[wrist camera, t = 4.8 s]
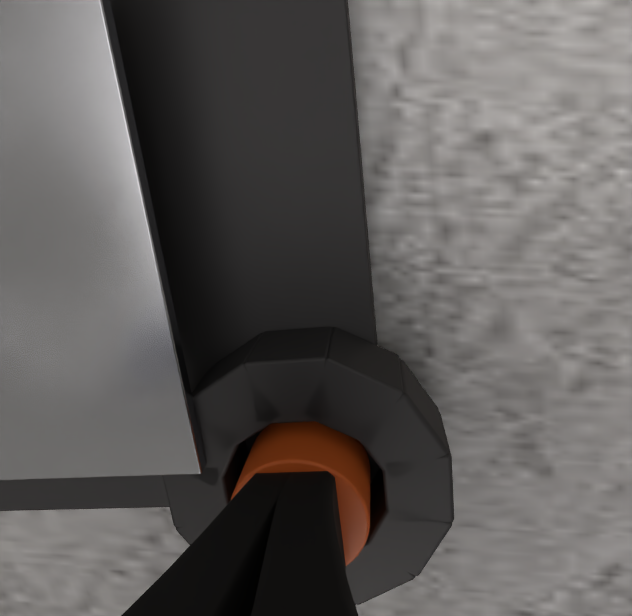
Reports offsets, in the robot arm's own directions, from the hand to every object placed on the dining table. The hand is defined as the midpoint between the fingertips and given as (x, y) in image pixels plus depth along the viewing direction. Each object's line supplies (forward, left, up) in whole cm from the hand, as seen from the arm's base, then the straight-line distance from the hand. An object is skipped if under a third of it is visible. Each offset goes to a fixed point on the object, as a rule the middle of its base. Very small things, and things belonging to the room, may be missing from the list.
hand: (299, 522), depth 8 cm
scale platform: (+5, -5, -1) cm, 7 cm away
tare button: (0, 0, -2) cm, 2 cm away
